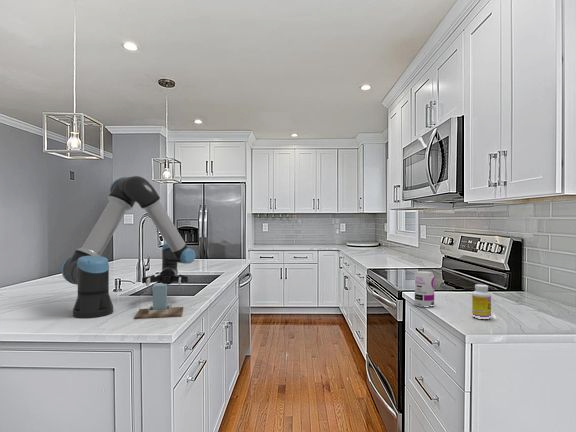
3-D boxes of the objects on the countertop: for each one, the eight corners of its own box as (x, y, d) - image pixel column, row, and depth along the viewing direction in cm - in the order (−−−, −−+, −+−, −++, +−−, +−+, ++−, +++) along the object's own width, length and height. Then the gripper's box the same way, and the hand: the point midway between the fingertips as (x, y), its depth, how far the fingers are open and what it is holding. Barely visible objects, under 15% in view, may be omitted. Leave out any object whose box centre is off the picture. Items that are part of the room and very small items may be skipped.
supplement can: (435, 304, 182) (434, 271, 182) (433, 308, 175) (433, 273, 175) (416, 303, 186) (416, 270, 186) (413, 306, 178) (413, 272, 178)
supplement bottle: (490, 321, 154) (490, 287, 154) (471, 318, 157) (471, 285, 157) (491, 317, 160) (491, 284, 160) (473, 315, 163) (473, 283, 163)
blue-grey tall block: (153, 313, 164) (152, 286, 164) (154, 310, 169) (154, 284, 169) (165, 312, 165) (165, 285, 165) (166, 309, 170) (166, 283, 170)
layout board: (134, 319, 159) (134, 313, 159) (139, 310, 172) (139, 305, 172) (181, 316, 162) (181, 310, 162) (183, 308, 176) (183, 303, 176)
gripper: (193, 282, 202) (192, 290, 181) (141, 284, 197) (133, 291, 176) (193, 267, 202) (192, 273, 181) (141, 268, 197) (133, 274, 176)
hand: (163, 282), depth 179 cm, fingers open, 13 cm apart
